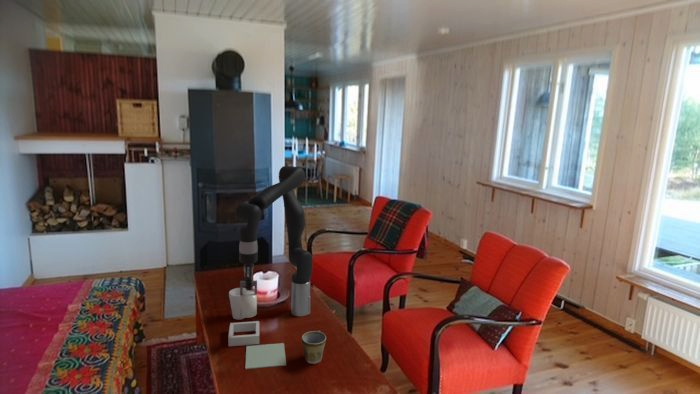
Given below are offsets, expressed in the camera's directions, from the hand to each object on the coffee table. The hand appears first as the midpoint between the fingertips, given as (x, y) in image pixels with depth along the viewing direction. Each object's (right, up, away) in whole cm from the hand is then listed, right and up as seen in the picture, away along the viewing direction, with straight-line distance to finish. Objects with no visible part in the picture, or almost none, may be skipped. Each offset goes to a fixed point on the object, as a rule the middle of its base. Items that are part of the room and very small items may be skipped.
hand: (248, 288), depth 179 cm
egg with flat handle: (-1, -11, +2) cm, 12 cm away
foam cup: (-11, -20, +27) cm, 36 cm away
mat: (+8, -27, -5) cm, 28 cm away
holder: (-4, -24, +9) cm, 26 cm away
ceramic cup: (+28, -28, -4) cm, 40 cm away
